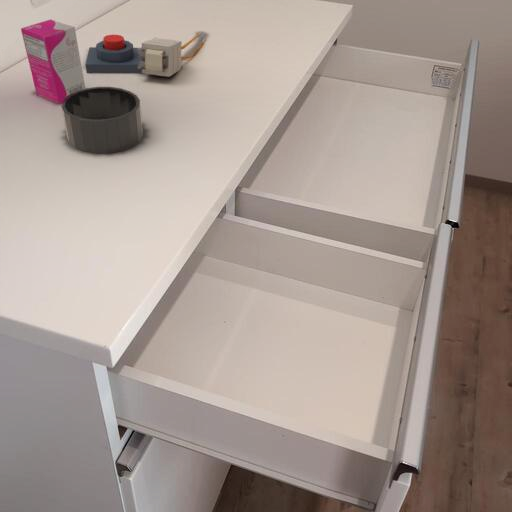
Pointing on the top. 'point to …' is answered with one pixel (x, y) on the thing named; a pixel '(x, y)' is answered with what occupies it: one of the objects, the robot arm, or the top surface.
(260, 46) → the top surface
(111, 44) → the power button
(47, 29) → the supplement box
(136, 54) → the button housing
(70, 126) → the dark grey round bin
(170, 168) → the top surface
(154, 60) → the electrical component
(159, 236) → the top surface
